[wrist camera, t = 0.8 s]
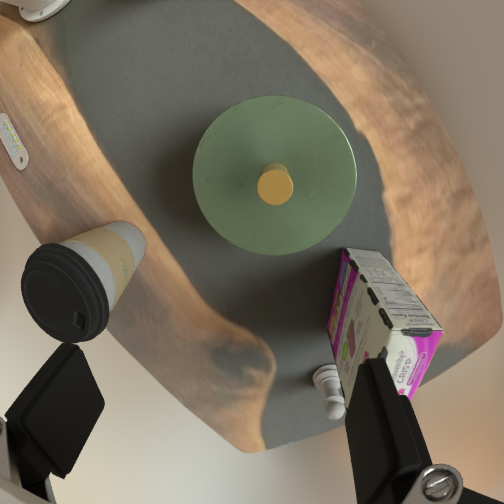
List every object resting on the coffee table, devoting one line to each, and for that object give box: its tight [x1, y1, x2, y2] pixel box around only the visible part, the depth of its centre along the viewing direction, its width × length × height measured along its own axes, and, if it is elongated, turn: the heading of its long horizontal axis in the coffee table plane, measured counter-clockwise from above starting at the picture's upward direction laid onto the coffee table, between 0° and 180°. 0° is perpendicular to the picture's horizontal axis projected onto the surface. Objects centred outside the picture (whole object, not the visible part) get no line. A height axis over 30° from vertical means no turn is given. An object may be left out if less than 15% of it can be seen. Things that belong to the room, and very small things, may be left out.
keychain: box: [0, 113, 29, 170], centre depth 30 cm, size 10×1×3 cm
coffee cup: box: [21, 221, 146, 343], centre depth 28 cm, size 9×9×15 cm
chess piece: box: [313, 364, 345, 419], centre depth 37 cm, size 5×5×8 cm
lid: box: [192, 95, 356, 255], centre depth 23 cm, size 14×14×6 cm
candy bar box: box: [326, 248, 444, 410], centre depth 28 cm, size 11×5×16 cm, turn 176°
